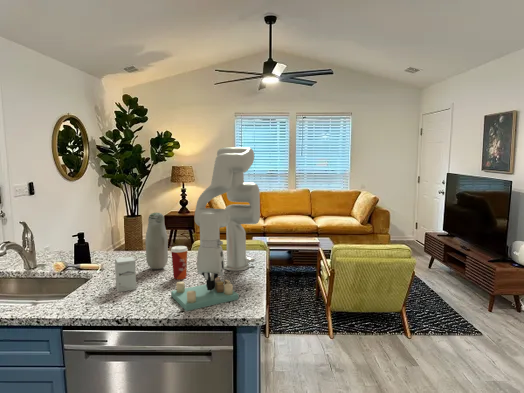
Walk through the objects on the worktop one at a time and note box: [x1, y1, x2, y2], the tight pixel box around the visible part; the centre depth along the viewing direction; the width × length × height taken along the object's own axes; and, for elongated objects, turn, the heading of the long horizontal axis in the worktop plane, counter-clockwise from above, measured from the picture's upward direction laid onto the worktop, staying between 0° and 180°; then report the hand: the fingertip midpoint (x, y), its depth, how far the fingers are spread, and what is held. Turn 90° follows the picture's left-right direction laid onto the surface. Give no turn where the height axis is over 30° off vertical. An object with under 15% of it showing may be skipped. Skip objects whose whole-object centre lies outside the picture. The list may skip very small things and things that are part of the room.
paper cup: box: [170, 245, 189, 280], centre depth 167 cm, size 8×8×14 cm
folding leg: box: [215, 276, 224, 293], centre depth 147 cm, size 11×2×4 cm, turn 18°
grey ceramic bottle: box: [144, 212, 169, 270], centre depth 180 cm, size 10×10×28 cm
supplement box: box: [114, 256, 137, 293], centre depth 153 cm, size 7×7×13 cm
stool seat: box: [170, 279, 239, 312], centre depth 143 cm, size 21×17×6 cm
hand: (210, 289), depth 144 cm, fingers closed
